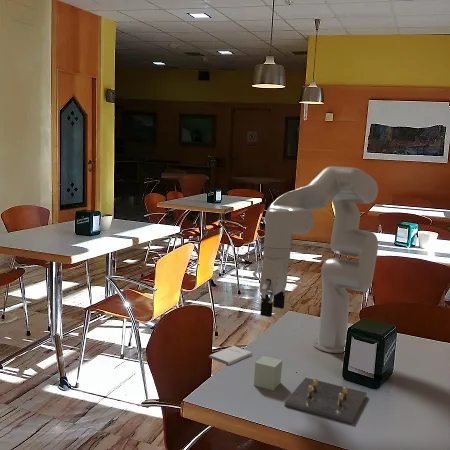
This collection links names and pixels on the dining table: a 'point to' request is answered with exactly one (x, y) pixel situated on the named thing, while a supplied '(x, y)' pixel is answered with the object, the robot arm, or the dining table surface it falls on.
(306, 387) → the plate
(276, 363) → the beige block
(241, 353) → the external hard drive
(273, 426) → the dining table surface
